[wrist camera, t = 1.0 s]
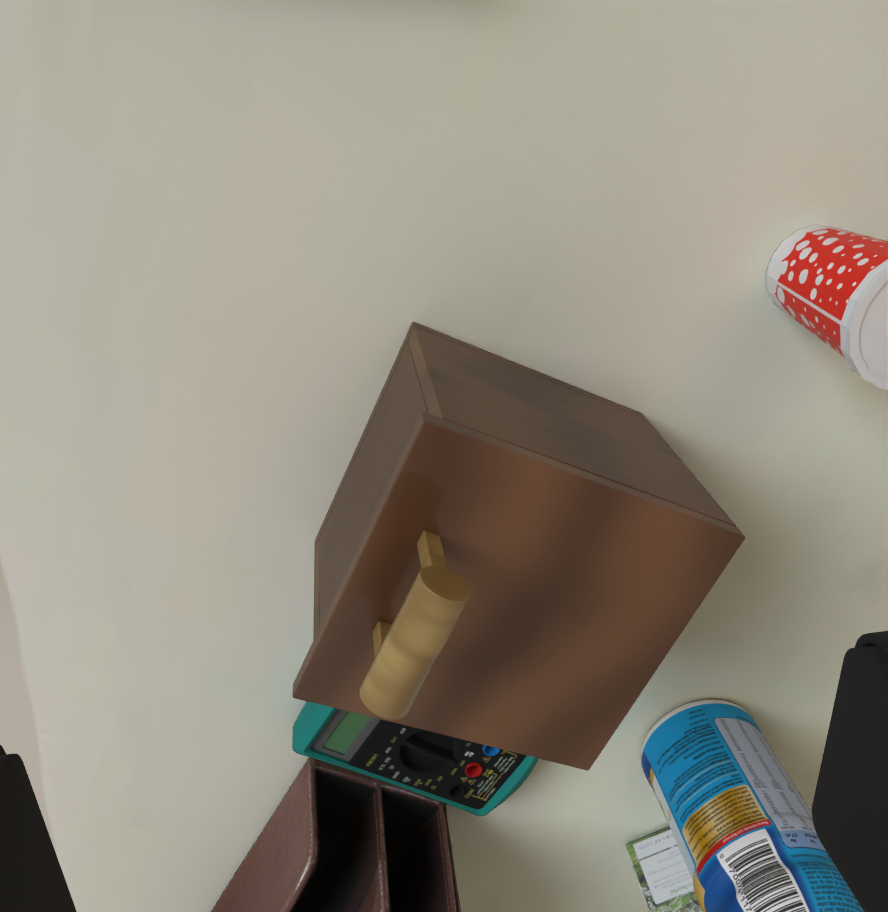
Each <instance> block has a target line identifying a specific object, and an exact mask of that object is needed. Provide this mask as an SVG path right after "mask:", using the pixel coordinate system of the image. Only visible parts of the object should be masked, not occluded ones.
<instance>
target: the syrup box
mask: <svg viewBox="0 0 888 912" xmlns="http://www.w3.org/2000/svg"><path fill="white" fill-rule="evenodd" d="M625 847H626V850H627V853H628V856H629V858H630V861H631V864H632V866H633V869H634V872H635V875H636V877H637V880H638V883H639V886H640V889H641V892H642V894H643V897H644V899H645V902H646V905H647V907H648V910H649V912H703V911H702V909H701V907H700V905H699V903H698V901H697V898H696V896H695V892H694V888H693V880H692V877H691V875H690V873H689V870H688V868H687V866H686V863H685V861H684V859H683V856H682V854H681V852H680V849H679V847H678V845H677V842H676V840H675V838H674V835H673V833H672V831H671V828H670V827H667V828H665V829H662V830H660V831H657V832H655V833H652V834H650V835H647V836H645V837H643V838H640V839H638V840H635V841H633V842H630V843H628V844H626V846H625Z"/></svg>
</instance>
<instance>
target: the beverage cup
mask: <svg viewBox="0 0 888 912" xmlns="http://www.w3.org/2000/svg"><path fill="white" fill-rule="evenodd" d="M766 279H767V291H768V293H769V295H770V296H771V298H772V300H773V302H774V303H775V304H776V305H777V306H778V307H779V308H781V309H782V310H783V311H785V312H786V313H787V314H789V315H790V316H791V317H793V318H794V319H795V320H796V321H798V322H799V323H800V324H802V325H803V326H804V327H806V328H807V329H808V330H810V331H811V332H812V333H814V334H815V335H816V336H817V337H819V338H820V339H821V340H823V341H824V342H825V343H827V344H828V345H829V346H831V347H832V348H833V349H834V350H836V351H837V352H838V353H840V354H841V355H842V356H844V357H845V359H846V361H847V362H848V364H849V366H850V368H851V370H853V371H854V372H856V373H857V374H858V375H859V376H861V377H862V378H864V379H865V380H867V381H869V382H870V383H872V384H873V385H875V386H876V387H878V388H880V389H886V390H888V241H885V240H881V239H877V238H873V237H869V236H865V235H861V234H857V233H853V232H849V231H846V230H842V229H838V228H834V227H828V226H821V225H813V226H810V227H806V228H803V229H799V230H797V231H796V232H795V233H793V234H792V235H791V236H789V237H788V238H786V239H785V240H784V241H783V242H782V243H781V244H780V246H779V247H778V248H777V250H776V251H775V253H774V254H773V255H772V257H771V260H770V263H769V267H768V270H767V273H766Z"/></svg>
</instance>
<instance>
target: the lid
mask: <svg viewBox="0 0 888 912" xmlns="http://www.w3.org/2000/svg"><path fill="white" fill-rule="evenodd" d="M744 539H745V536H744V535H743V534H742V533H741V531H740V530H739V529H738V528H737V527H735V526H733V525H730V524H727V523H724V522H722V521H719V520H716V519H714V518H711V517H708V516H705V515H703V514H700V513H697V512H695V511H692V510H689V509H686V508H684V507H681V506H678V505H676V504H673V503H670V502H667V501H665V500H662V499H659V498H656V497H654V496H651V495H648V494H646V493H643V492H640V491H637V490H635V489H632V488H629V487H627V486H624V485H621V484H618V483H616V482H613V481H610V480H608V479H605V478H602V477H599V476H597V475H594V474H591V473H589V472H586V471H583V470H580V469H578V468H575V467H572V466H569V465H567V464H564V463H561V462H559V461H556V460H553V459H550V458H548V457H545V456H542V455H540V454H537V453H534V452H531V451H529V450H526V449H523V448H521V447H518V446H515V445H512V444H510V443H507V442H504V441H501V440H499V439H496V438H493V437H491V436H488V435H485V434H482V433H480V432H477V431H474V430H472V429H469V428H466V427H463V426H461V425H458V424H455V423H453V422H450V421H447V420H444V419H442V418H439V417H436V416H434V415H431V414H428V413H425V412H421V414H420V416H419V418H418V420H417V422H416V424H415V426H414V429H413V431H412V433H411V435H410V437H409V439H408V441H407V443H406V446H405V448H404V450H403V452H402V454H401V456H400V458H399V460H398V463H397V465H396V467H395V469H394V471H393V473H392V475H391V477H390V480H389V482H388V484H387V486H386V488H385V490H384V492H383V494H382V497H381V499H380V501H379V503H378V505H377V507H376V509H375V511H374V514H373V516H372V518H371V520H370V522H369V524H368V526H367V528H366V531H365V533H364V535H363V537H362V539H361V541H360V543H359V545H358V548H357V550H356V552H355V554H354V556H353V558H352V560H351V562H350V565H349V567H348V569H347V571H346V573H345V575H344V577H343V579H342V582H341V584H340V586H339V588H338V590H337V592H336V594H335V596H334V599H333V601H332V603H331V605H330V607H329V609H328V611H327V613H326V616H325V618H324V620H323V622H322V624H321V626H320V628H319V630H318V633H317V635H316V637H315V639H314V641H313V643H312V645H311V647H310V650H309V652H308V654H307V656H306V658H305V660H304V662H303V664H302V667H301V669H300V671H299V673H298V675H297V677H296V679H295V681H294V684H293V698H296V699H300V700H304V701H309V702H313V703H317V704H321V705H325V706H329V707H333V708H337V709H341V710H345V711H349V712H353V713H357V714H361V715H365V716H369V717H373V718H377V719H381V720H385V721H390V722H394V723H398V724H402V725H406V726H410V727H414V728H418V729H422V730H426V731H430V732H434V733H438V734H442V735H446V736H450V737H454V738H458V739H462V740H466V741H471V742H475V743H479V744H483V745H487V746H491V747H495V748H499V749H503V750H507V751H511V752H515V753H519V754H523V755H527V756H531V757H535V758H539V759H543V760H548V761H552V762H556V763H560V764H564V765H568V766H572V767H576V768H580V769H584V770H589V769H590V768H591V766H592V765H593V763H594V762H595V760H596V759H597V757H598V756H599V754H600V753H601V751H602V750H603V748H604V747H605V745H606V744H607V742H608V741H609V739H610V738H611V736H612V735H613V733H614V732H615V730H616V729H617V727H618V726H619V724H620V723H621V722H622V720H623V719H624V717H625V716H626V714H627V713H628V711H629V710H630V708H631V707H632V705H633V704H634V702H635V701H636V699H637V698H638V696H639V695H640V693H641V692H642V690H643V689H644V687H645V686H646V684H647V683H648V681H649V680H650V678H651V677H652V676H653V674H654V673H655V671H656V670H657V668H658V667H659V665H660V664H661V662H662V661H663V659H664V658H665V656H666V655H667V653H668V652H669V650H670V649H671V647H672V646H673V644H674V643H675V641H676V640H677V638H678V637H679V635H680V634H681V632H682V631H683V630H684V628H685V627H686V625H687V624H688V622H689V621H690V619H691V618H692V616H693V615H694V613H695V612H696V610H697V609H698V607H699V606H700V604H701V603H702V601H703V600H704V598H705V597H706V595H707V594H708V592H709V591H710V589H711V588H712V586H713V585H714V584H715V582H716V581H717V579H718V578H719V576H720V575H721V573H722V572H723V570H724V569H725V567H726V566H727V564H728V563H729V561H730V560H731V558H732V557H733V555H734V554H735V552H736V551H737V549H738V548H739V546H740V545H741V543H742V542H743V540H744Z"/></svg>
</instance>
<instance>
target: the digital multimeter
mask: <svg viewBox="0 0 888 912" xmlns="http://www.w3.org/2000/svg"><path fill="white" fill-rule="evenodd" d="M292 748H293V750H294V751H295V752H296V753H298V754H302V755H305V756H308V757H311V758H314V759H318V760H321V761H324V762H327V763H330V764H333V765H337V766H340V767H343V768H346V769H349V770H353V771H356V772H359V773H362V774H365V775H368V776H370V777H373V778H376V779H379V780H382V781H385V782H388V783H391V784H394V785H397V786H400V787H403V788H405V789H408V790H411V791H414V792H416V793H419V794H422V795H425V796H427V797H430V798H433V799H436V800H438V801H441V802H444V803H446V804H449V805H452V806H454V807H457V808H459V809H462V810H464V811H467V812H469V813H472V814H474V815H477V816H484V815H486V814H488V813H489V812H490V811H492V810H493V809H494V808H496V807H497V806H498V805H500V804H501V803H502V802H503V801H505V800H506V799H507V798H508V797H509V796H510V795H511V794H513V793H514V792H515V791H516V790H517V789H518V788H519V786H520V785H521V784H522V783H523V782H524V781H525V780H526V778H527V777H528V776H529V774H530V772H531V771H532V769H533V768H534V766H535V764H536V763H537V761H538V759H539V758H535V757H531V756H527V755H523V754H519V753H515V752H511V751H507V750H503V749H499V748H495V747H491V746H487V745H483V744H479V743H475V742H471V741H466V740H462V739H458V738H454V737H450V736H446V735H442V734H438V733H434V732H430V731H426V730H422V729H418V728H414V727H410V726H406V725H402V724H398V723H394V722H390V721H385V720H381V719H377V718H373V717H369V716H365V715H361V714H357V713H353V712H349V711H345V710H341V709H337V708H333V707H329V706H325V705H321V704H317V703H313V702H309V701H307V702H306V704H305V706H304V707H303V709H302V711H301V713H300V714H299V716H298V718H297V720H296V721H295V723H294V726H293V745H292Z"/></svg>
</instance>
